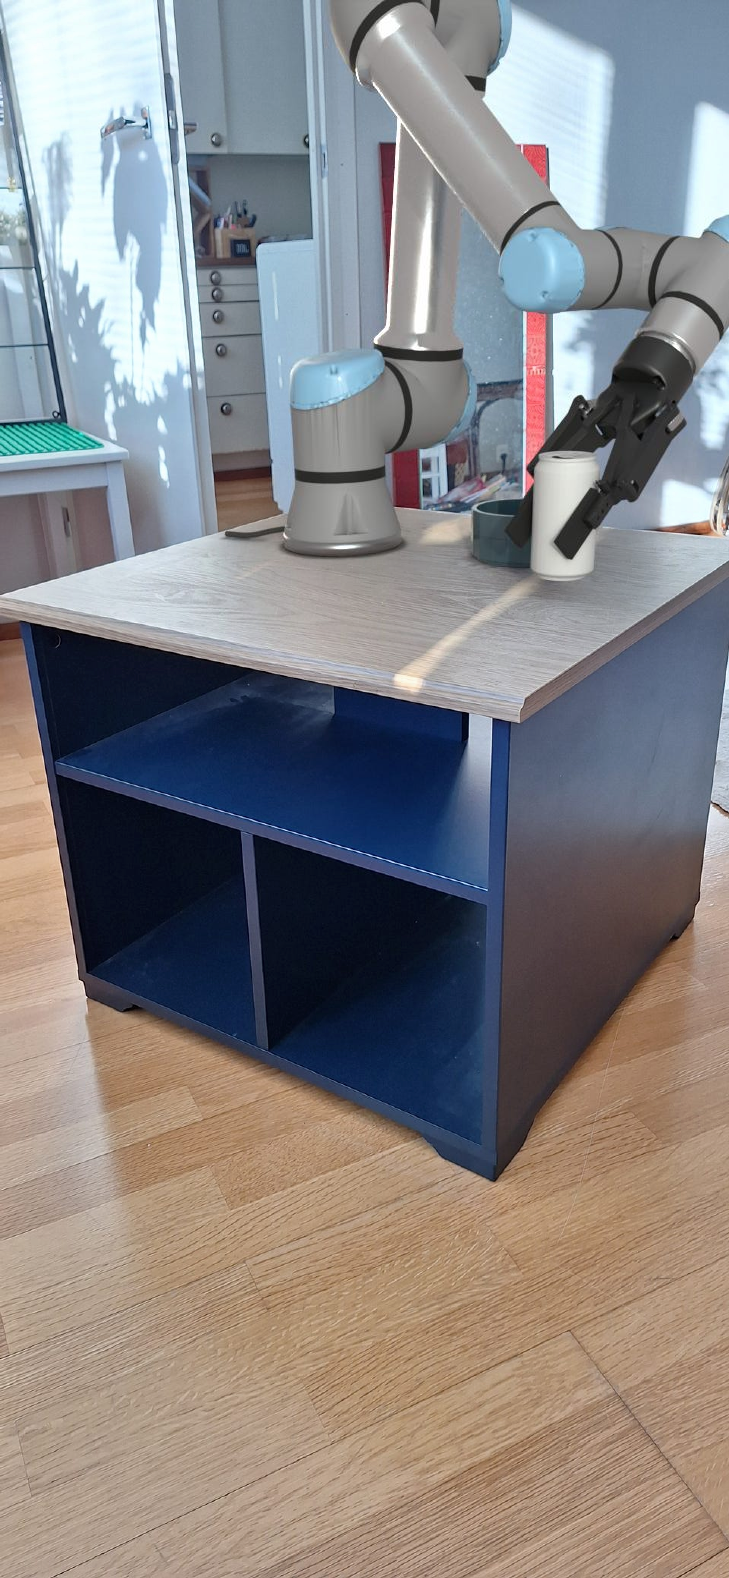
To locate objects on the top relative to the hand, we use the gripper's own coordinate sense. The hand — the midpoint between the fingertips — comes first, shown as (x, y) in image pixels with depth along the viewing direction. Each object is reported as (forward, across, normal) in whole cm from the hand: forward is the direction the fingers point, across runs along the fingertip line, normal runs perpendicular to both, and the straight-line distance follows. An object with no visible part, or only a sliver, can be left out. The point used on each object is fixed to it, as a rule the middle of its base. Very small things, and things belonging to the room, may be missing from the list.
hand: (537, 544), depth 110 cm
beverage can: (0, 0, -5) cm, 5 cm away
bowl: (-6, +19, -16) cm, 26 cm away
